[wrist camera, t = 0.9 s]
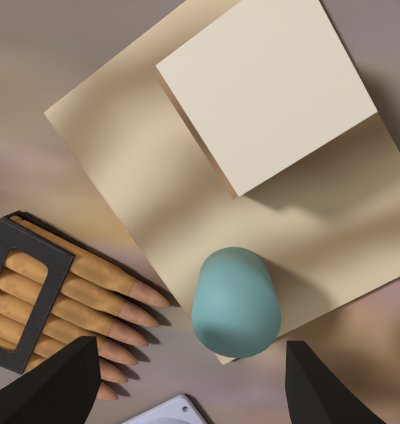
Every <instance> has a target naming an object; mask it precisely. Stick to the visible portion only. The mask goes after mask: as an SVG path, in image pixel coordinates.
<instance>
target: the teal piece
mask: <svg viewBox="0 0 400 424" xmlns="http://www.w3.org/2000/svg"><path fill="white" fill-rule="evenodd" d="M281 320H282V318H281V311H280V307H279V304H278V301H277V297H276V294H275V291H274V288H273V285H272V282H271V278H270V275H269V272H268V269H267V267H266V265H265V263H264V262H263V260H262V259H261V258H260V257H259V256H258V255H256V254H255V253H254V252H252V251H250V250H248V249H245V248H241V247H227V248H223V249H220V250H218V251H216V252H214V253H212V254H211V255H210V256H209V257H208V258H207V259H206V260H205V262H204V263H203V265H202V267H201V270H200V273H199V278H198V283H197V288H196V293H195V298H194V303H193V308H192V325H193V329H194V331H195V334H196V335H197V337H198V339H199V340H200V341H201V342H202V344H204V345H205V346H206V347H207V348H208V349H210V350H211V351H213V352H215V353H217V354H219V355H222V356H225V357H230V358H245V357H250V356H254V355H256V354H258V353H260V352H262V351H264V350H265V349H267V348H268V347H269V346H270V345H271V344H272V343H273V342H274V340H275V339H276V337H277V335H278V333H279V331H280V327H281Z"/></svg>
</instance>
